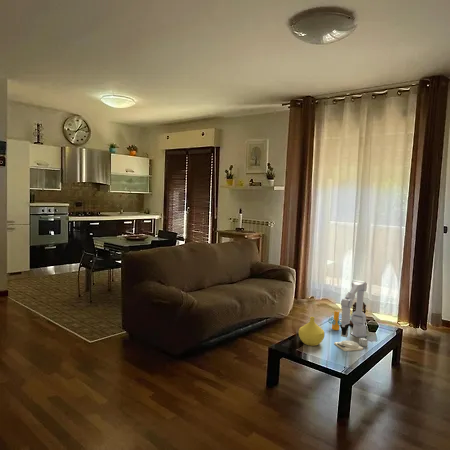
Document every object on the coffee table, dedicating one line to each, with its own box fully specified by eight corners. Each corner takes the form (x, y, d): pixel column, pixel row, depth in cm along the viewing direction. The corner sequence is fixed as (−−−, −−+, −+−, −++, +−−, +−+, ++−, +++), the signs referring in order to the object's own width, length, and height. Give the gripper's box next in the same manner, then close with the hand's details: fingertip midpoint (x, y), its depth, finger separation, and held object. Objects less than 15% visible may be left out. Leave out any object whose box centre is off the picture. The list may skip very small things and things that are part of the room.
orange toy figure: (341, 327, 316) (343, 309, 315) (344, 332, 306) (345, 313, 304) (326, 326, 317) (327, 308, 316) (328, 330, 307) (330, 312, 305)
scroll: (362, 322, 330) (364, 300, 328) (370, 329, 315) (372, 305, 313) (346, 322, 329) (347, 299, 327) (352, 328, 314) (354, 304, 312)
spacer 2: (363, 344, 282) (364, 337, 281) (367, 346, 278) (367, 339, 277) (358, 344, 280) (359, 338, 280) (362, 346, 277) (362, 340, 276)
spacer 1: (342, 334, 280) (342, 327, 280) (347, 335, 278) (348, 329, 278) (340, 336, 277) (341, 329, 276) (346, 337, 275) (347, 330, 274)
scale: (352, 342, 284) (352, 339, 284) (363, 349, 272) (363, 346, 271) (334, 343, 280) (334, 340, 280) (344, 351, 267) (344, 347, 267)
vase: (305, 336, 292) (306, 311, 291) (328, 343, 281) (329, 317, 279) (293, 343, 278) (294, 317, 276) (316, 350, 266) (318, 323, 265)
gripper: (342, 311, 284) (340, 329, 286) (337, 317, 272) (336, 335, 273) (352, 313, 281) (350, 331, 282) (348, 318, 268) (346, 337, 269)
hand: (344, 333), depth 277 cm, fingers closed on spacer 1, 4 cm apart
